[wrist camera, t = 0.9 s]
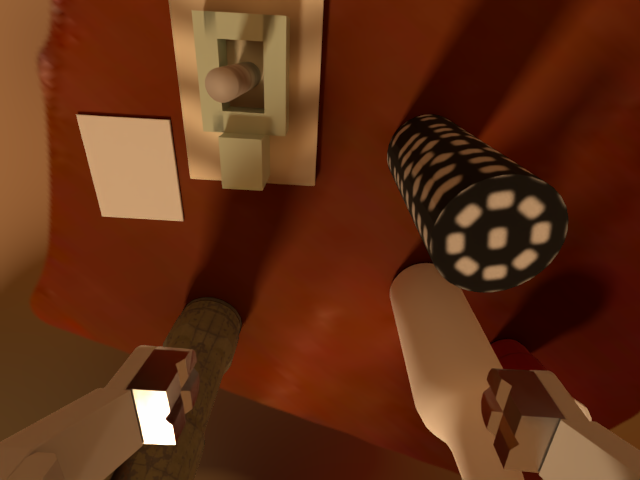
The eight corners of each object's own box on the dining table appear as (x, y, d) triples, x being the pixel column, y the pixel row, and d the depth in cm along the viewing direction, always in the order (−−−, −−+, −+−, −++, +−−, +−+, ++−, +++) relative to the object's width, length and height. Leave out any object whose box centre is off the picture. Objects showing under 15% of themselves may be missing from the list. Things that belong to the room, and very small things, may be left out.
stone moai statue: (220, 280, 49) (35, 676, 18) (256, 342, 54) (158, 732, 24) (164, 297, 51) (-94, 686, 20) (203, 355, 56) (48, 736, 25)
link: (202, 12, 33) (182, 8, 29) (289, 18, 33) (283, 14, 29) (216, 171, 40) (202, 187, 36) (288, 175, 40) (282, 192, 36)
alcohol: (431, 321, 52) (536, 612, 25) (376, 299, 50) (427, 585, 24) (468, 274, 48) (639, 561, 21) (410, 249, 46) (517, 524, 20)
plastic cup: (458, 335, 53) (490, 408, 42) (536, 317, 51) (591, 389, 40) (470, 384, 57) (501, 461, 47) (542, 369, 55) (592, 446, 45)
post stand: (173, -14, 34) (104, -39, 23) (324, -5, 34) (321, -26, 23) (194, 174, 42) (151, 215, 32) (315, 181, 42) (310, 225, 32)
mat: (77, 114, 39) (76, 114, 39) (170, 119, 39) (168, 120, 39) (103, 215, 45) (102, 216, 45) (184, 220, 45) (183, 221, 45)
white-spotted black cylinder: (384, 121, 39) (428, 185, 21) (464, 108, 38) (579, 164, 20) (389, 193, 43) (430, 298, 25) (462, 183, 42) (557, 285, 24)
